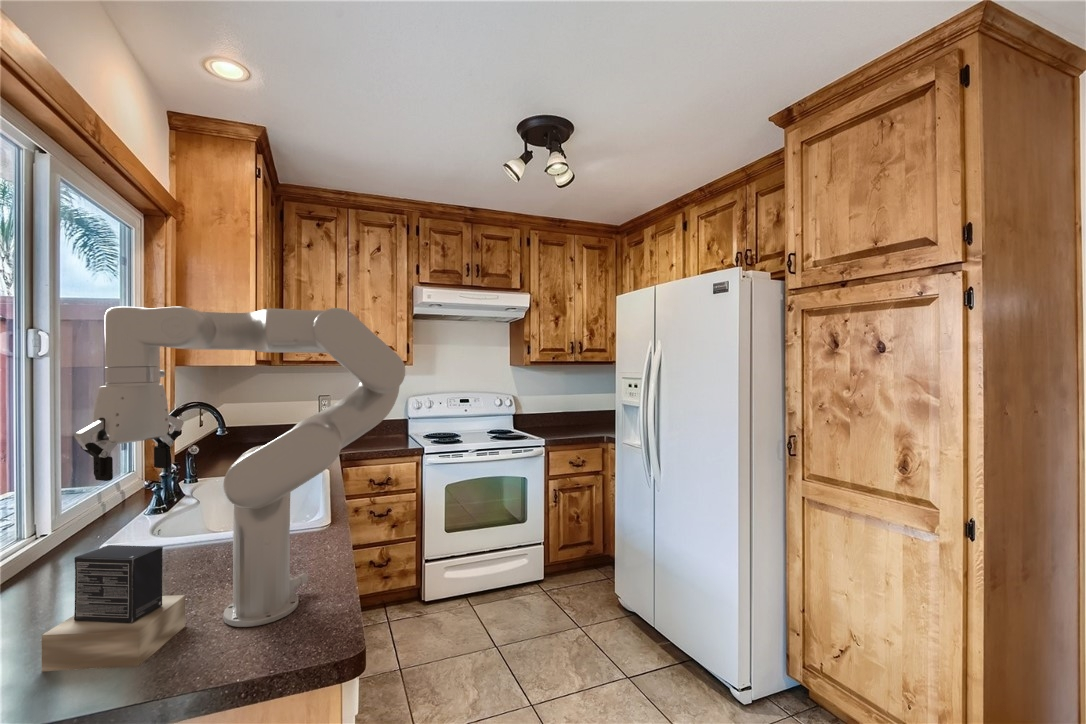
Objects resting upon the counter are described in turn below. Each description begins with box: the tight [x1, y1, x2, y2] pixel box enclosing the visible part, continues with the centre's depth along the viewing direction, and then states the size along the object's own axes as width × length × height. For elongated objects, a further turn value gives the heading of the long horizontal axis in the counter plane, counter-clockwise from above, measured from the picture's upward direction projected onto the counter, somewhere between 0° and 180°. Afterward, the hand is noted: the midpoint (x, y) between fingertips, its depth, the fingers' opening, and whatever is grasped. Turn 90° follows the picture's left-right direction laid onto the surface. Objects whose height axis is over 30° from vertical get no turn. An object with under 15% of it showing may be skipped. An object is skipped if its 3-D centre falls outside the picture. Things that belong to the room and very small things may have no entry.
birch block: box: [41, 594, 186, 672], centre depth 84 cm, size 12×14×6 cm
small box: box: [73, 544, 164, 623], centre depth 85 cm, size 11×6×10 cm, turn 85°
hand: (134, 473), depth 89 cm, fingers open, 9 cm apart
